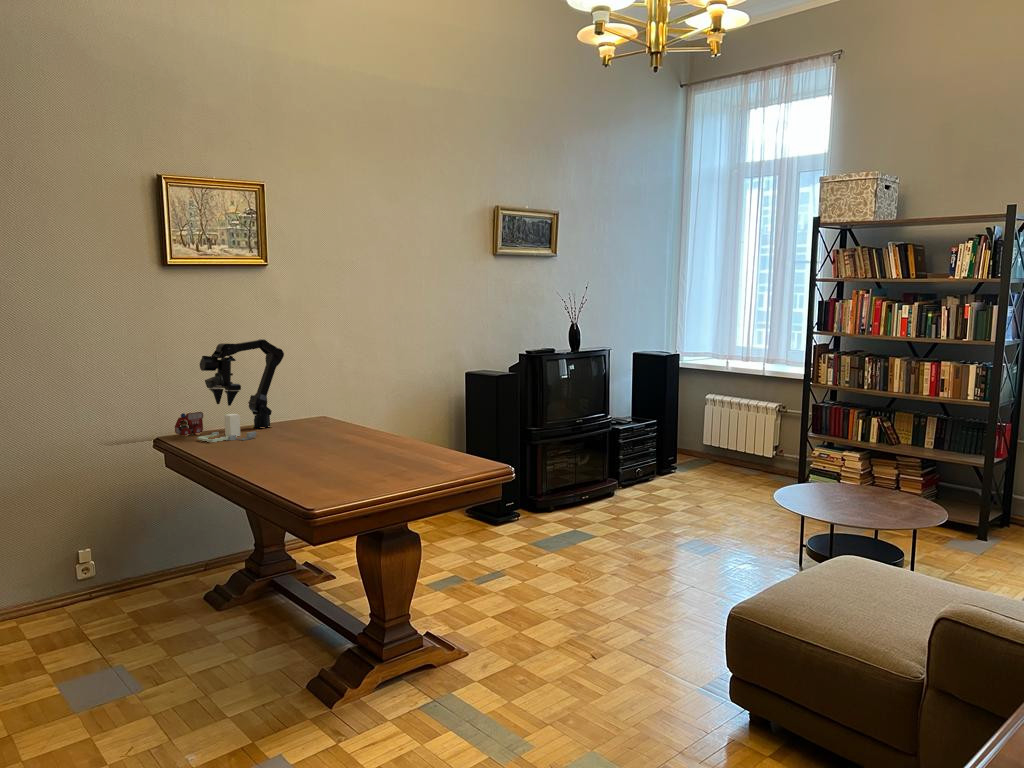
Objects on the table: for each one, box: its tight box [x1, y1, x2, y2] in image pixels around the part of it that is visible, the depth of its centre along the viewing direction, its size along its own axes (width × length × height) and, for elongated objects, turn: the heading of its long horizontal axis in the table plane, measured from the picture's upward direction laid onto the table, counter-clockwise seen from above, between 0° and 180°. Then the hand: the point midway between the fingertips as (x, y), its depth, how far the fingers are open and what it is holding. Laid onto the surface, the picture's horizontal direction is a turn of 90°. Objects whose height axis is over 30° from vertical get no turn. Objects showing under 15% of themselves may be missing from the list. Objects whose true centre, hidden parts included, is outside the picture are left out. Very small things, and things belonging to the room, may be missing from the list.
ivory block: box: [223, 413, 241, 438], centre depth 335 cm, size 5×5×10 cm
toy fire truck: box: [174, 411, 204, 436], centre depth 342 cm, size 7×12×10 cm, turn 129°
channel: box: [210, 431, 257, 442], centre depth 335 cm, size 13×25×2 cm, turn 52°
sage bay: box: [196, 434, 230, 444], centre depth 328 cm, size 9×11×2 cm
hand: (223, 404), depth 344 cm, fingers open, 9 cm apart
